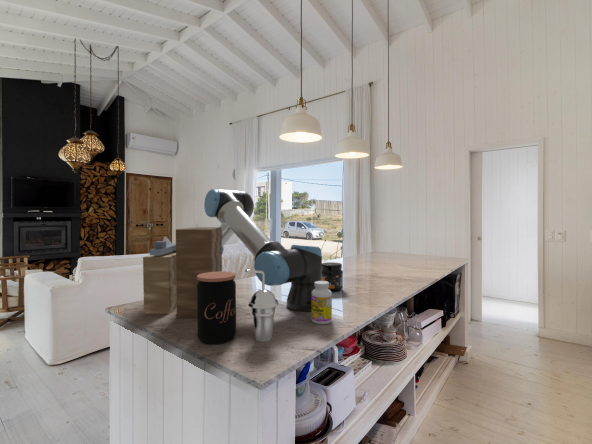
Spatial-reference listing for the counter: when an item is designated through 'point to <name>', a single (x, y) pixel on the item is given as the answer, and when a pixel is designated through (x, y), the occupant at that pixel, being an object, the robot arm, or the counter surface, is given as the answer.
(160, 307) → the oak block
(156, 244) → the lid
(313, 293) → the supplement bottle
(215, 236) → the walnut box
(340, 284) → the supplement container
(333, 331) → the counter surface
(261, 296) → the cup with straw
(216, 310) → the coffee jar
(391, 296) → the counter surface
